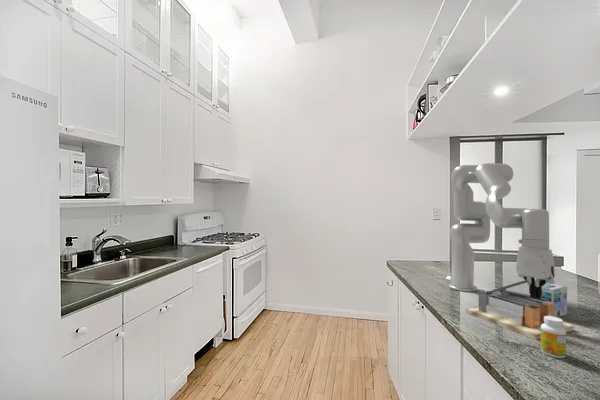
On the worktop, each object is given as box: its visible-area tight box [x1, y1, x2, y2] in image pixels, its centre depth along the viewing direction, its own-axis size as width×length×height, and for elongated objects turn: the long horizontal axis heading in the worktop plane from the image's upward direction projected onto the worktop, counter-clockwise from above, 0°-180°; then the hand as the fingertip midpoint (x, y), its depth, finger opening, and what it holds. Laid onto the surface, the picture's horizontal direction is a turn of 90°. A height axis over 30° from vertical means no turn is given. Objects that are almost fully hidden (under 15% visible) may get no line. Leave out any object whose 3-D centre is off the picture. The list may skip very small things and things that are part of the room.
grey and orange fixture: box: [478, 291, 555, 328], centre depth 106 cm, size 18×14×6 cm
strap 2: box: [498, 289, 549, 302], centre depth 108 cm, size 16×3×1 cm, turn 22°
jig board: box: [465, 305, 575, 340], centre depth 106 cm, size 24×20×2 cm
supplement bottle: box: [539, 316, 567, 359], centre depth 83 cm, size 5×5×10 cm
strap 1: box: [483, 280, 528, 295], centre depth 106 cm, size 16×3×1 cm, turn 23°
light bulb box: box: [534, 283, 568, 318], centre depth 114 cm, size 11×7×11 cm, turn 117°
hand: (535, 297), depth 104 cm, fingers closed
